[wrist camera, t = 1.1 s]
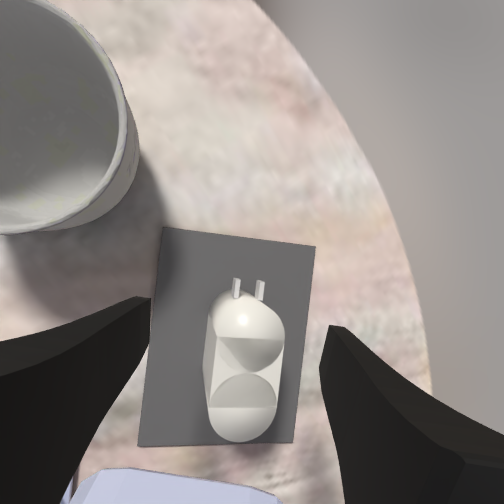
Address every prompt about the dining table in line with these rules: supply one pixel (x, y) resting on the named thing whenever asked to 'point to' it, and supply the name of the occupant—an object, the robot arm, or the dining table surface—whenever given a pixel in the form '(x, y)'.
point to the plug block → (242, 363)
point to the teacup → (59, 122)
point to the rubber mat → (195, 326)
